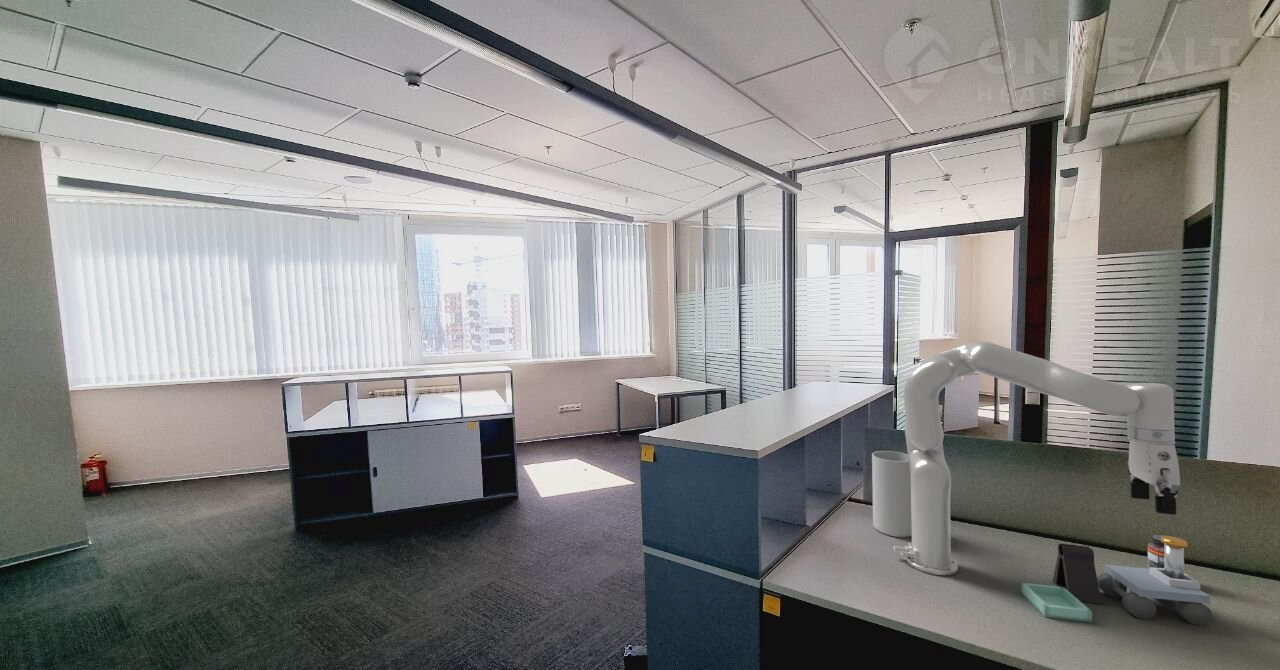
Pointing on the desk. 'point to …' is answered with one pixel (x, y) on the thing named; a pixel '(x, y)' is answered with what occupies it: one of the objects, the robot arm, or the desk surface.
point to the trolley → (1155, 592)
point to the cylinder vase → (891, 493)
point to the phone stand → (1077, 573)
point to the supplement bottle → (1156, 553)
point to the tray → (1056, 602)
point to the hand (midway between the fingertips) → (1152, 505)
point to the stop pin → (1174, 556)
